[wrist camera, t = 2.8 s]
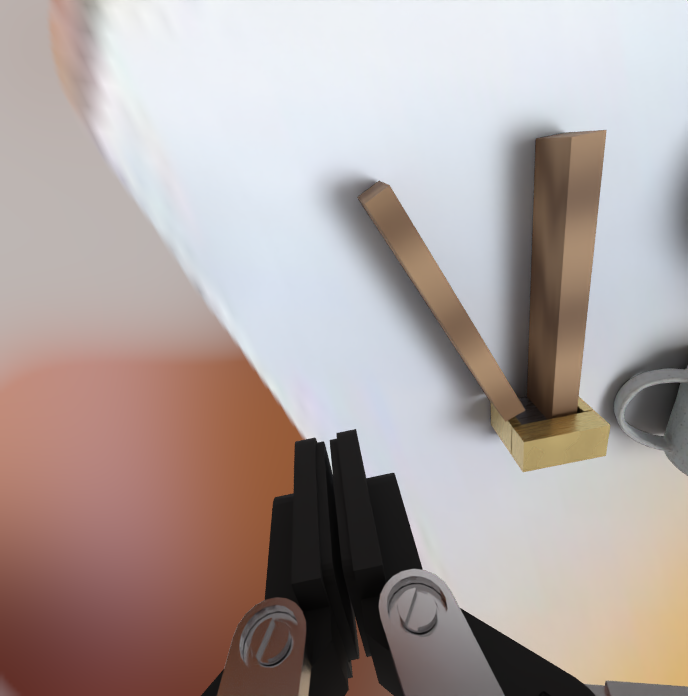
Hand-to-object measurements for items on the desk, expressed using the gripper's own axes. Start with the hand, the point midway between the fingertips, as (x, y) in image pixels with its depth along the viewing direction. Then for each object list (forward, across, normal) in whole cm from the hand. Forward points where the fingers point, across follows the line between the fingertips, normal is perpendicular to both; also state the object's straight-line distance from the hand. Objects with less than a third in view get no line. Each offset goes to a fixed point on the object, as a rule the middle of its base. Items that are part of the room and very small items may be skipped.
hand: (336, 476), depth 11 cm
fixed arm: (+14, -14, +2) cm, 20 cm away
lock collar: (+14, -13, +10) cm, 22 cm away
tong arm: (+14, -7, +2) cm, 16 cm away
